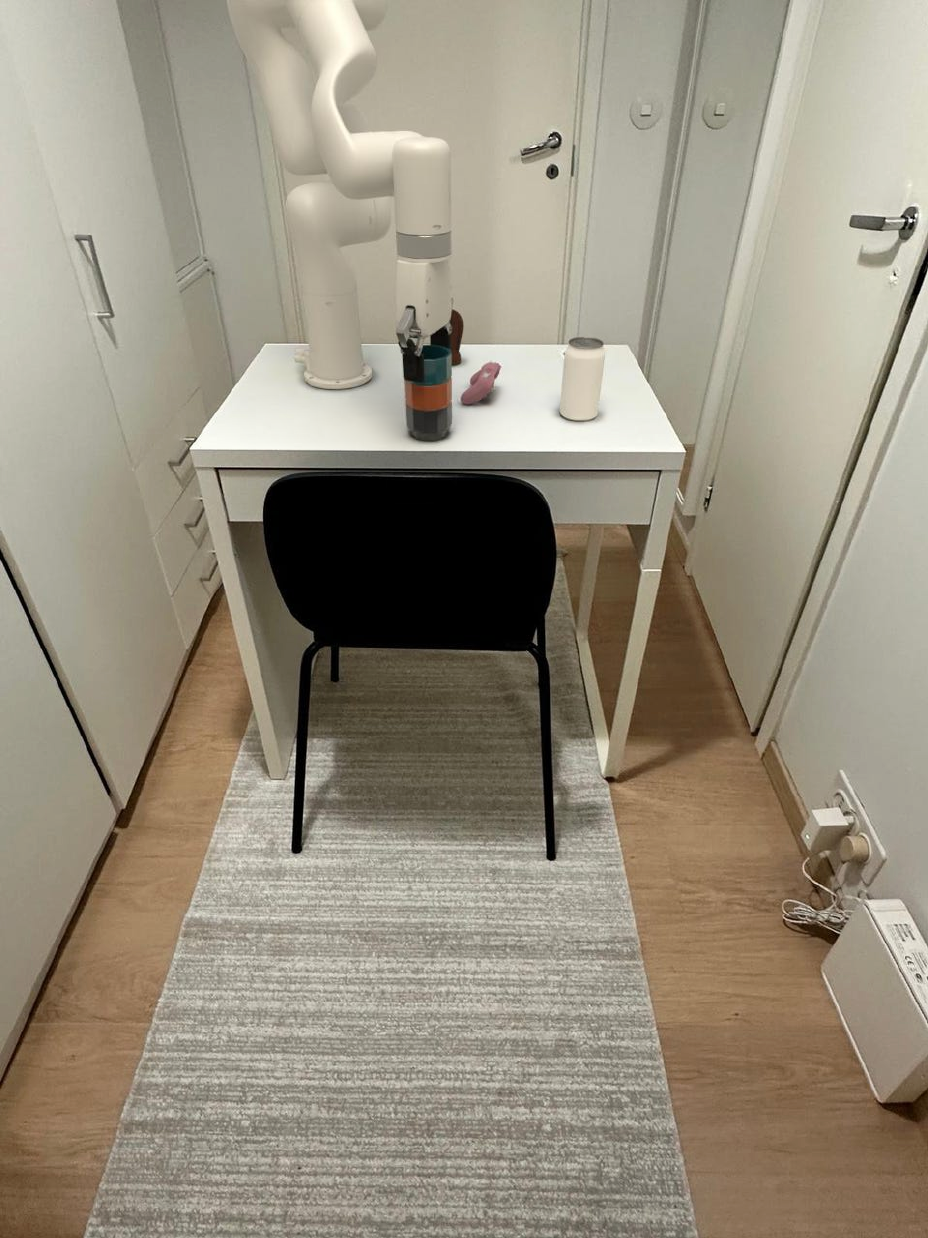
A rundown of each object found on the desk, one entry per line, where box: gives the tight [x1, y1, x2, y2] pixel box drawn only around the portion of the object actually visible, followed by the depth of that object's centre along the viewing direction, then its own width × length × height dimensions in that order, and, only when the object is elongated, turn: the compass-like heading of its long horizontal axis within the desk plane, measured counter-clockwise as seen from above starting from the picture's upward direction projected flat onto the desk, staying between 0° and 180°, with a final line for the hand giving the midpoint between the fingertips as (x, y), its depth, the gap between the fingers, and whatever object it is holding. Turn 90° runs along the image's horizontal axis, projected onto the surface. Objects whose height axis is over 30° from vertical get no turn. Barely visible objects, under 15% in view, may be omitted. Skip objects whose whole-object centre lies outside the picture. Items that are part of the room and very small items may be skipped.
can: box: [559, 336, 606, 422], centre depth 119 cm, size 6×6×12 cm
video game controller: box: [460, 359, 502, 405], centre depth 127 cm, size 10×5×7 cm, turn 168°
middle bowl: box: [403, 377, 453, 411], centre depth 113 cm, size 7×7×5 cm
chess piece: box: [448, 308, 465, 367], centre depth 140 cm, size 5×5×10 cm
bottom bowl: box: [404, 401, 453, 442], centre depth 115 cm, size 7×7×5 cm
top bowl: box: [406, 343, 453, 386], centre depth 110 cm, size 7×7×5 cm
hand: (427, 370), depth 110 cm, fingers open, 9 cm apart
